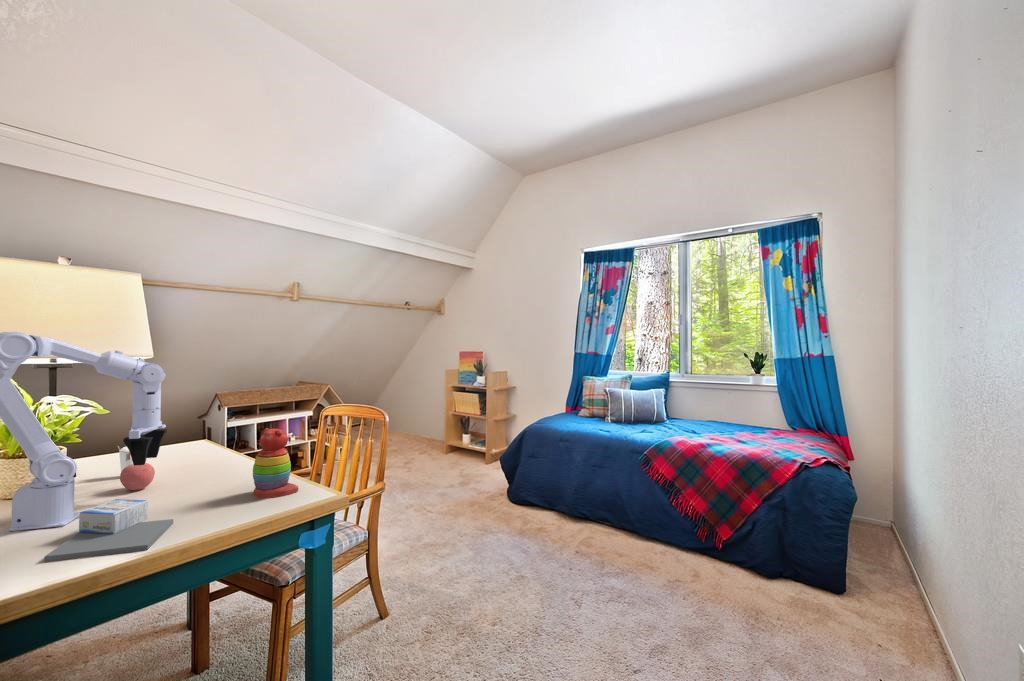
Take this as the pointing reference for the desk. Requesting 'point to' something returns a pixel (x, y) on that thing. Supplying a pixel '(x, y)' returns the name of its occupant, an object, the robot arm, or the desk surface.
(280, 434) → the stacking bear
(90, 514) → the medicine box
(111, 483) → the desk surface
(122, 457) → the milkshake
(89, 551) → the mat
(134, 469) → the apple
